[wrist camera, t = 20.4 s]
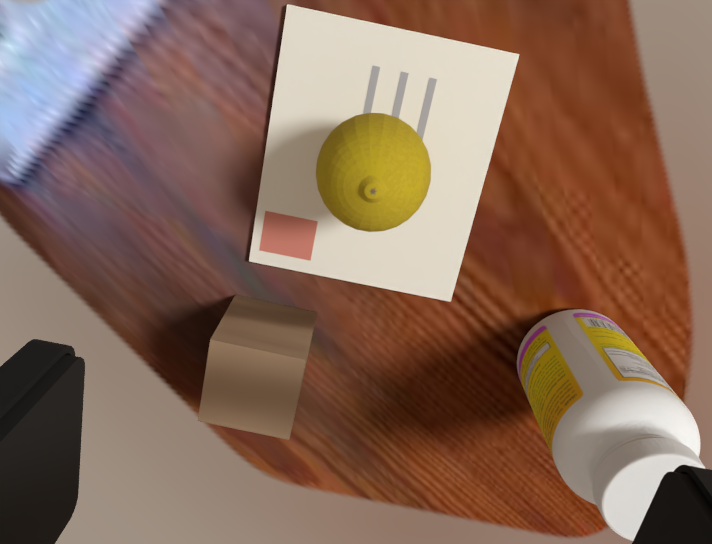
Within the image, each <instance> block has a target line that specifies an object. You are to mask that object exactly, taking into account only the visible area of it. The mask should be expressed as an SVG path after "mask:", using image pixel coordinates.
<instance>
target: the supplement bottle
mask: <svg viewBox="0 0 712 544" xmlns="http://www.w3.org/2000/svg"><path fill="white" fill-rule="evenodd" d="M517 370H518V375H519V378H520V381H521V384H522V386H523V389H524V391H525V393H526V396H527V398H528V401H529V403H530V405H531V408H532V410H533V413H534V415H535V417H536V420H537V422H538V424H539V426H540V429H541V431H542V434H543V436H544V438H545V441H546V443H547V445H548V448H549V450H550V452H551V455H552V457H553V460H554V462H555V464H556V467H557V469H558V471H559V473H560V475H561V476H562V478H563V480H564V481H565V482H566V484H567V485H568V486H569V487H570V488H571V489H572V490H573V491H574V492H575V493H576V494H577V495H579V496H580V497H582V498H583V499H585V500H587V501H588V502H591V503H593V504H595V505H597V507H598V509H599V511H600V513H601V514H602V516H603V518H604V520H605V522H606V523H607V524H608V526H609V527H610V528H611V529H612V530H613V531H614V532H616V533H617V534H619V535H620V536H622V537H624V538H626V539H629V540H631V541H634V539H635V536H636V534H637V532H638V530H639V528H640V525H641V523H642V521H643V519H644V517H645V515H646V512H647V510H648V508H649V506H650V504H651V502H652V499H653V497H654V495H655V493H656V491H657V489H658V486H659V484H660V482H661V480H662V478H663V476H664V475H665V474H666V473H667V472H671V471H672V472H674V470H675V469H676V468H677V467H678V466H680V465H689V466H694V467H699V468H704V469H706V468H705V467H704V465H703V464H702V462H701V461H700V459H699V453H700V435H699V431H698V427H697V424H696V422H695V420H694V418H693V416H692V414H691V413H690V411H689V410H688V408H687V407H686V406H685V405H684V403H683V402H682V401H681V400H680V398H679V397H678V396H677V395H676V394H675V392H674V391H673V390H672V389H671V388H670V387H669V385H668V384H667V383H666V382H665V381H664V379H663V378H662V377H661V376H660V375H659V373H658V372H657V371H656V370H655V369H654V367H653V366H652V365H651V364H650V363H649V361H648V360H647V359H646V358H645V356H644V355H643V354H642V353H641V352H640V351H639V349H638V348H637V347H636V346H635V344H634V343H633V342H632V341H631V340H630V339H629V337H628V336H627V335H626V334H625V333H624V332H623V330H622V329H621V328H620V327H619V326H618V325H617V324H615V323H614V322H613V321H612V320H610V319H609V318H608V317H606V316H604V315H602V314H599V313H597V312H593V311H589V310H583V309H573V310H565V311H561V312H557V313H555V314H552V315H550V316H548V317H546V318H544V319H543V320H541V321H540V322H538V323H537V324H536V325H535V326H533V328H532V329H531V330H530V331H529V332H528V333H527V334H526V336H525V337H524V339H523V341H522V343H521V345H520V348H519V351H518V356H517Z"/></svg>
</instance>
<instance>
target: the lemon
mask: <svg viewBox="0 0 712 544" xmlns="http://www.w3.org/2000/svg"><path fill="white" fill-rule="evenodd" d="M316 180H317V186H318V191H319V193H320V195H321V198H322V200H323V202H324V204H325V205H326V207H327V208H328V209H329V211H330V212H331V213H332V214H333V216H335V217H336V218H337V219H338V220H340V221H341V222H342V223H344V224H345V225H347V226H350V227H352V228H354V229H356V230H362V231H367V232H378V231H386V230H389V229H392V228H395V227H397V226H399V225H401V224H402V223H404V222H405V221H407V220H408V219H410V217H411V216H412V215H413V214H414V213H415V212H416V211H417V210H418V209H419V208H420V206H421V204H422V203H423V201H424V199H425V198H426V196H427V192H428V189H429V185H430V181H431V163H430V159H429V154H428V150H427V148H426V147H425V145H424V143H423V141H422V139H421V137H420V136H419V135H418V134H417V133H416V132H415V130H414V129H413V128H412V127H411V126H410V125H408V124H407V123H405V122H403V121H402V120H400V119H399V118H397V117H393V116H390V115H387V114H384V113H366V114H361V115H356V116H354V117H352V118H350V119H348V120H346V121H344V122H342V123H341V124H340V125H338V126H337V127H336V128H335V129H334V130H333V131H331V133H330V134H329V136H328V137H327V139H326V140H325V141H324V143H323V144H322V147H321V150H320V152H319V155H318V158H317V165H316Z"/></svg>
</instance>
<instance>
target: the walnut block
mask: <svg viewBox="0 0 712 544" xmlns="http://www.w3.org/2000/svg"><path fill="white" fill-rule="evenodd" d="M316 316H317V312H314V311H309V310H305V309H300V308H295V307H291V306H286V305H281V304H277V303H272V302H267V301H263V300H258V299H253V298H249V297H244V296H240V295H235V296H234V298H233V300H232V302H231V303H230V305H229V307H228V309H227V311H226V312H225V314H224V316H223V318H222V319H221V321H220V323H219V325H218V327H217V328H216V330H215V332H214V334H213V335H212V337H211V339H210V344H209V351H208V357H207V364H206V370H205V377H204V383H203V390H202V397H201V403H200V410H199V416H198V421H201V422H206V423H211V424H215V425H220V426H225V427H230V428H235V429H240V430H244V431H249V432H254V433H259V434H264V435H269V436H273V437H278V438H283V439H288V440H289V437H290V433H291V429H292V424H293V420H294V416H295V411H296V407H297V402H298V398H299V394H300V389H301V385H302V380H303V376H304V371H305V366H306V362H307V357H308V353H309V348H310V343H311V339H312V334H313V330H314V325H315V320H316Z"/></svg>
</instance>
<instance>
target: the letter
mask: <svg viewBox="0 0 712 544" xmlns="http://www.w3.org/2000/svg"><path fill="white" fill-rule="evenodd" d="M518 58H519V54H515V53H510V52H506V51H501V50H497V49H492V48H487V47H483V46H478V45H473V44H469V43H464V42H459V41H455V40H450V39H446V38H441V37H436V36H432V35H427V34H422V33H418V32H413V31H409V30H404V29H399V28H395V27H390V26H385V25H381V24H376V23H372V22H367V21H362V20H358V19H353V18H348V17H344V16H339V15H335V14H330V13H325V12H321V11H316V10H311V9H307V8H302V7H297V6H293V5H288V4H287V9H286V15H285V22H284V29H283V36H282V42H281V49H280V56H279V62H278V69H277V76H276V82H275V89H274V96H273V103H272V109H271V116H270V123H269V129H268V136H267V143H266V150H265V156H264V163H263V170H262V176H261V183H260V190H259V197H258V203H257V210H256V217H255V223H254V230H253V237H252V243H251V250H250V257H249V262H254V263H259V264H264V265H269V266H274V267H279V268H284V269H289V270H294V271H299V272H304V273H309V274H314V275H319V276H324V277H329V278H334V279H339V280H344V281H349V282H354V283H359V284H364V285H369V286H374V287H379V288H384V289H389V290H394V291H399V292H404V293H409V294H414V295H419V296H424V297H429V298H434V299H439V300H444V301H449V302H451V298H452V295H453V291H454V288H455V284H456V281H457V277H458V273H459V270H460V266H461V263H462V259H463V255H464V252H465V248H466V245H467V241H468V237H469V234H470V230H471V227H472V223H473V219H474V216H475V212H476V209H477V205H478V201H479V198H480V194H481V191H482V187H483V183H484V180H485V176H486V173H487V169H488V166H489V162H490V158H491V155H492V151H493V148H494V144H495V140H496V137H497V133H498V130H499V126H500V122H501V119H502V115H503V112H504V108H505V104H506V101H507V97H508V94H509V90H510V86H511V83H512V79H513V76H514V72H515V68H516V65H517V61H518ZM366 113H384V114H387V115H390V116H393V117H397V118H399V119H400V120H402V121H403V122H405V123H407V124H408V125H410V126H411V127H412V128H413V129H414V130H415V132H416V133H417V134H418V135H419V136H420V137H421V139H422V141H423V143H424V145H425V147H426V148H427V150H428V154H429V159H430V163H431V181H430V185H429V189H428V192H427V196H426V198H425V199H424V201H423V203H422V204H421V206H420V208H419V209H418V210H417V211H416V212H415V213H414V214H413V215H412V216H411V217H410V219H408V220H407V221H405V222H404V223H402V224H401V225H399V226H397V227H395V228H392V229H389V230H386V231H378V232H367V231H362V230H356V229H354V228H352V227H350V226H347V225H345V224H344V223H342V222H341V221H340V220H338V219H337V218H336V217H335V216H333V214H332V213H331V212H330V211H329V209H328V208H327V207H326V205H325V204H324V202H323V200H322V198H321V195H320V193H319V191H318V186H317V180H316V165H317V158H318V155H319V152H320V150H321V147H322V144H323V143H324V141H325V140H326V139H327V137H328V136H329V134H330V133H331V131H333V130H334V129H335V128H336V127H337V126H338V125H340V124H341V123H342V122H344V121H346V120H348V119H350V118H352V117H354V116H356V115H361V114H366Z"/></svg>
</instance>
